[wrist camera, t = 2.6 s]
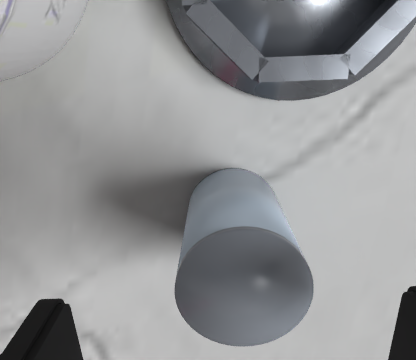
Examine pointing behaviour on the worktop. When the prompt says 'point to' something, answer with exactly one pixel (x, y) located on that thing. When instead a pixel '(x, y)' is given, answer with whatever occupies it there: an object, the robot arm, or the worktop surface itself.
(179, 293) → the grey domed cylinder
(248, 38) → the faceted metallic bowl
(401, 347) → the robot arm
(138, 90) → the worktop surface
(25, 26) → the teacup
